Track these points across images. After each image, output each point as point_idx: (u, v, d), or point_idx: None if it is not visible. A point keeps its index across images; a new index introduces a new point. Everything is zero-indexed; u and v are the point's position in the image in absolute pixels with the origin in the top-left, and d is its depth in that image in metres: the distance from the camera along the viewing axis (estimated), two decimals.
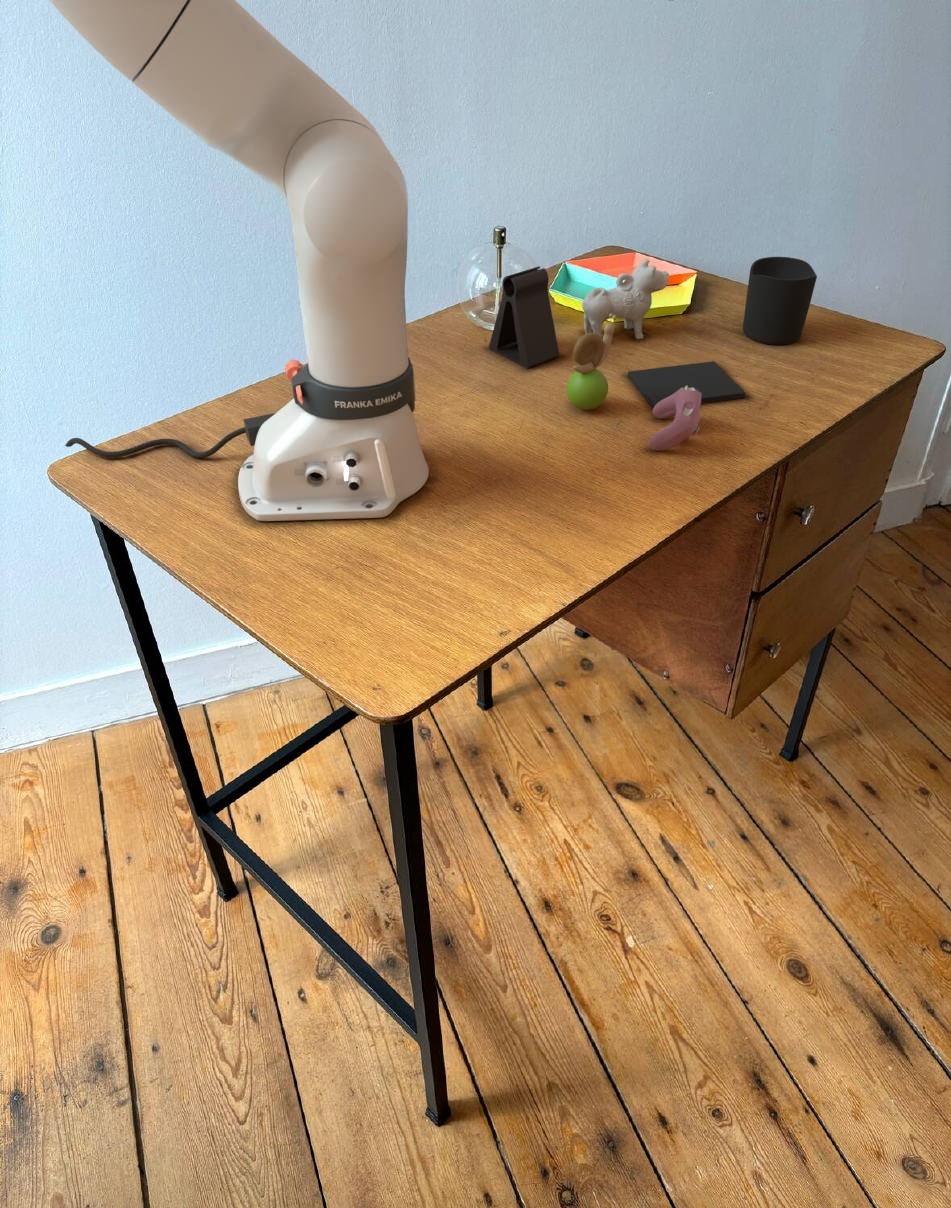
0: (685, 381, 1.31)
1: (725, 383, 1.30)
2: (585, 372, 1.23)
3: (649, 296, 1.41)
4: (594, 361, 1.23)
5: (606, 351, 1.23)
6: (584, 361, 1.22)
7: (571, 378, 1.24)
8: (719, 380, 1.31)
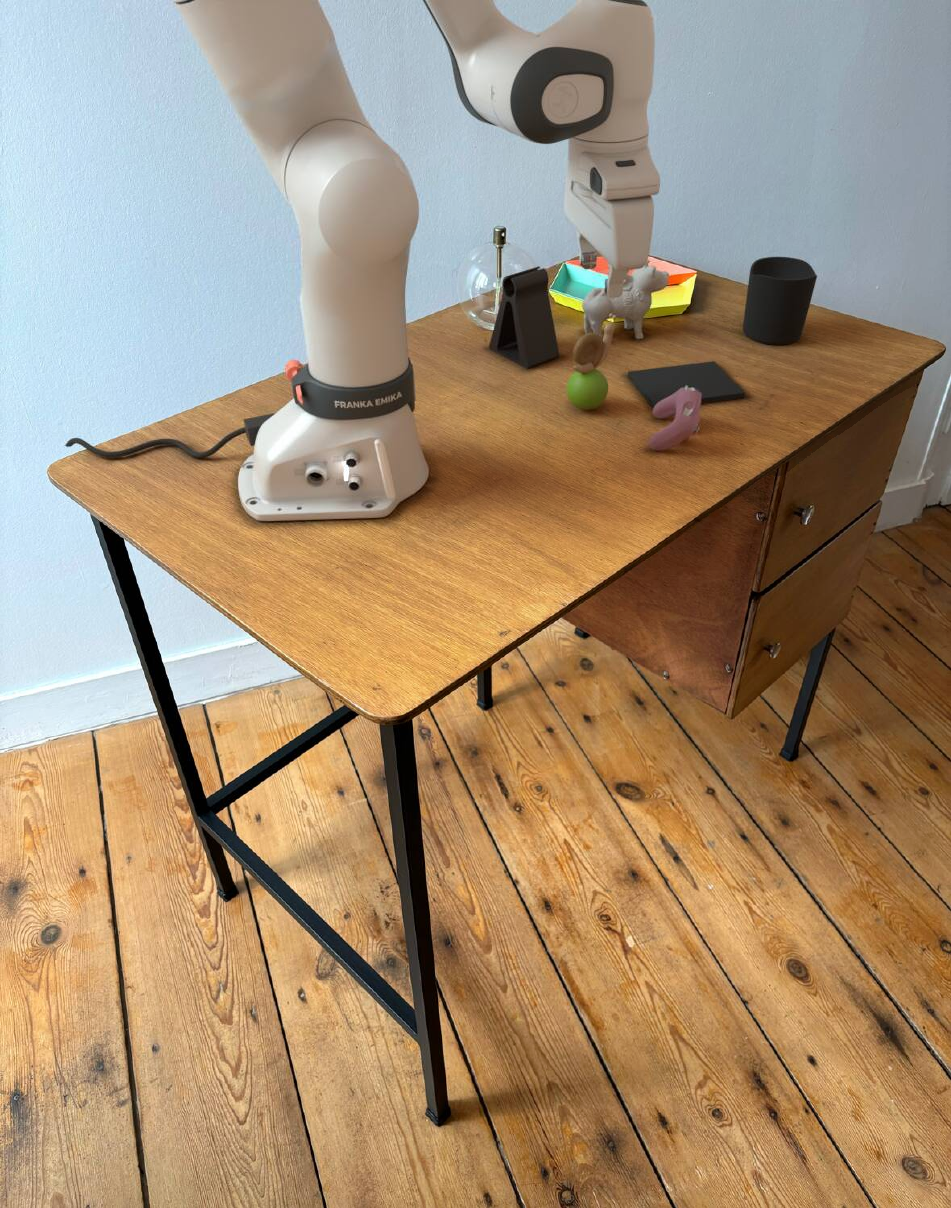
0: (685, 381, 1.31)
1: (725, 383, 1.30)
2: (585, 372, 1.23)
3: (649, 296, 1.41)
4: (594, 361, 1.23)
5: (606, 351, 1.23)
6: (584, 361, 1.22)
7: (571, 378, 1.24)
8: (719, 380, 1.31)
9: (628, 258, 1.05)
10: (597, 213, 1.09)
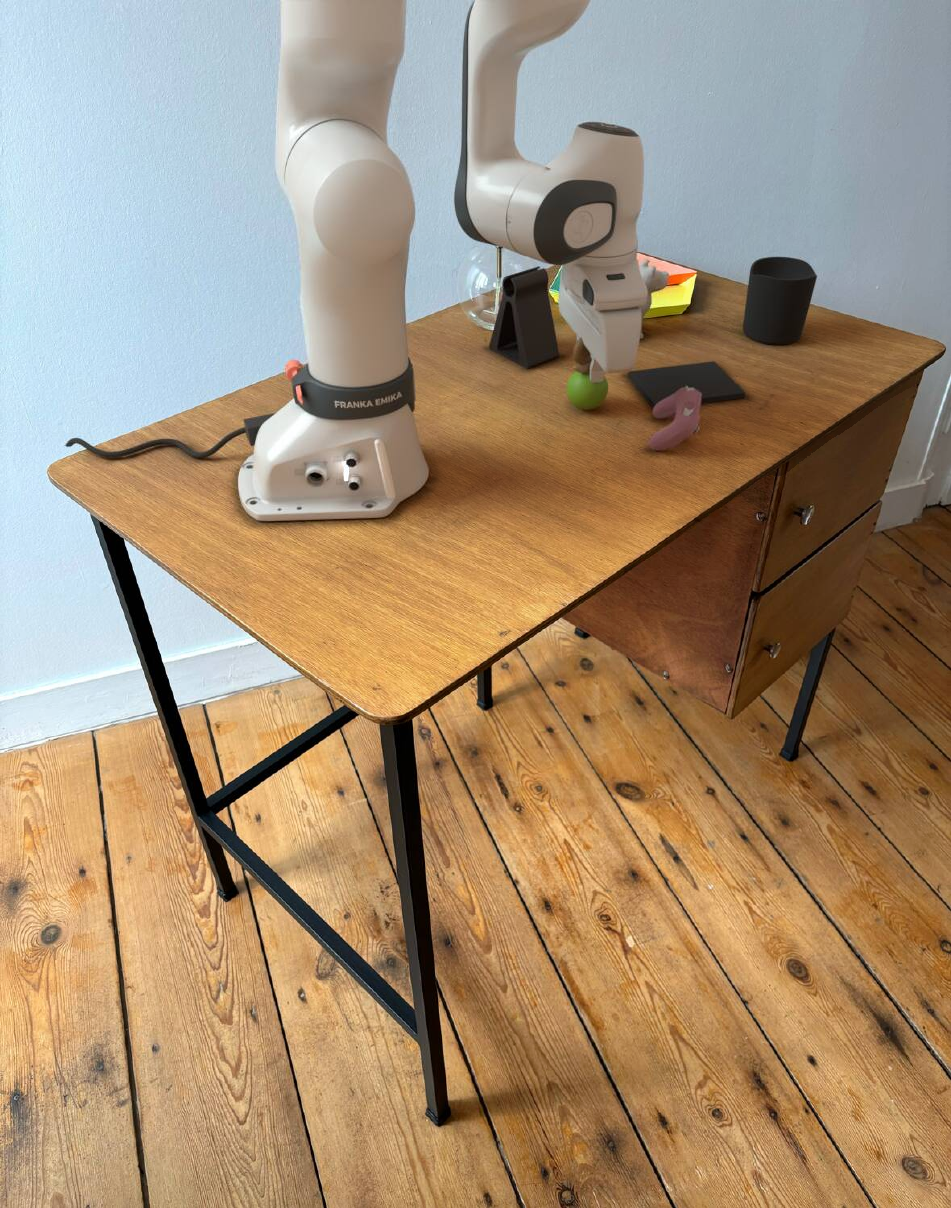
0: (685, 381, 1.31)
1: (725, 383, 1.30)
2: (585, 372, 1.23)
3: (649, 296, 1.41)
4: None
5: None
6: (584, 361, 1.22)
7: (571, 378, 1.24)
8: (719, 380, 1.31)
9: (617, 363, 1.13)
10: (589, 317, 1.17)
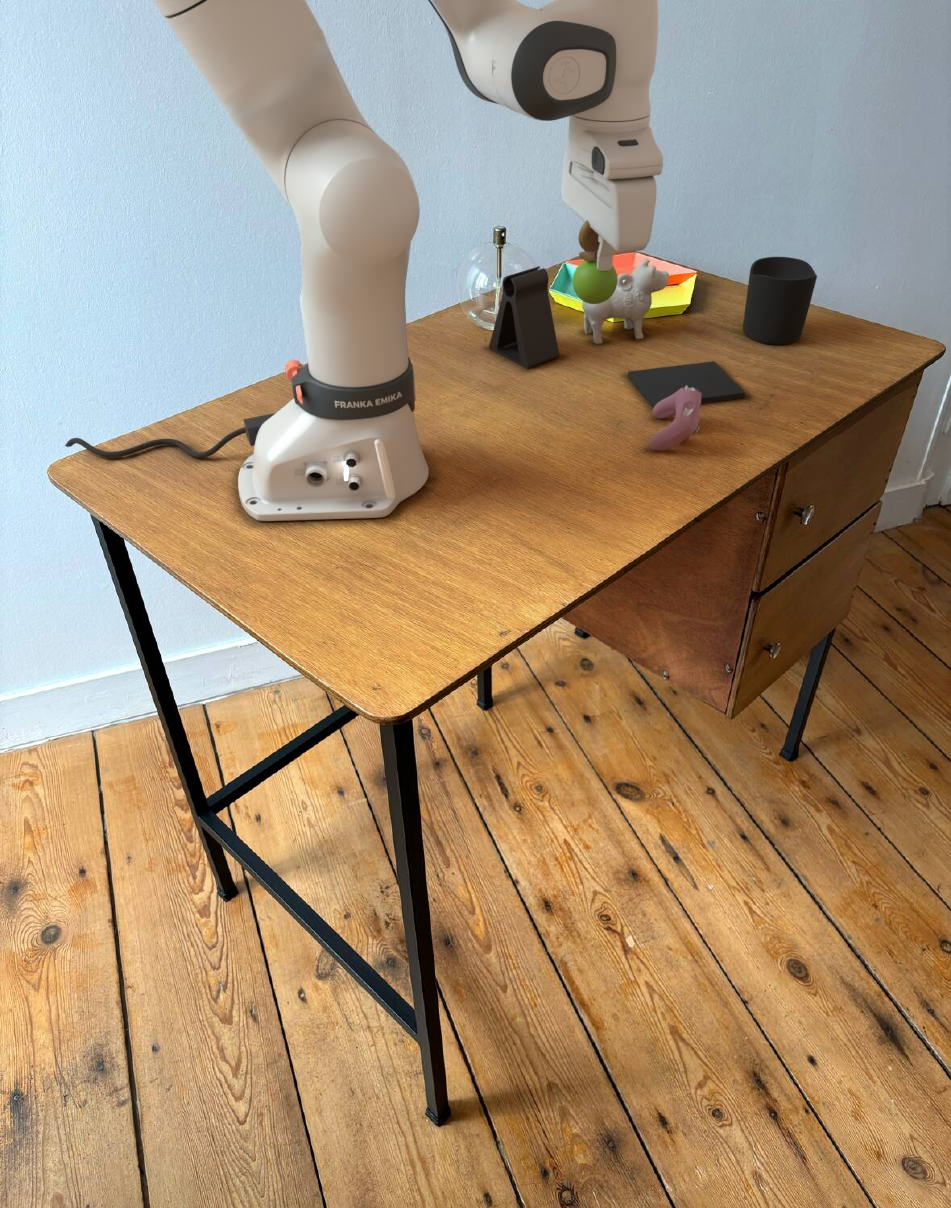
0: (685, 381, 1.31)
1: (725, 383, 1.30)
2: (592, 260, 1.14)
3: (649, 296, 1.41)
4: None
5: None
6: (590, 247, 1.13)
7: (577, 267, 1.16)
8: (719, 380, 1.31)
9: (630, 239, 1.04)
10: (597, 194, 1.08)
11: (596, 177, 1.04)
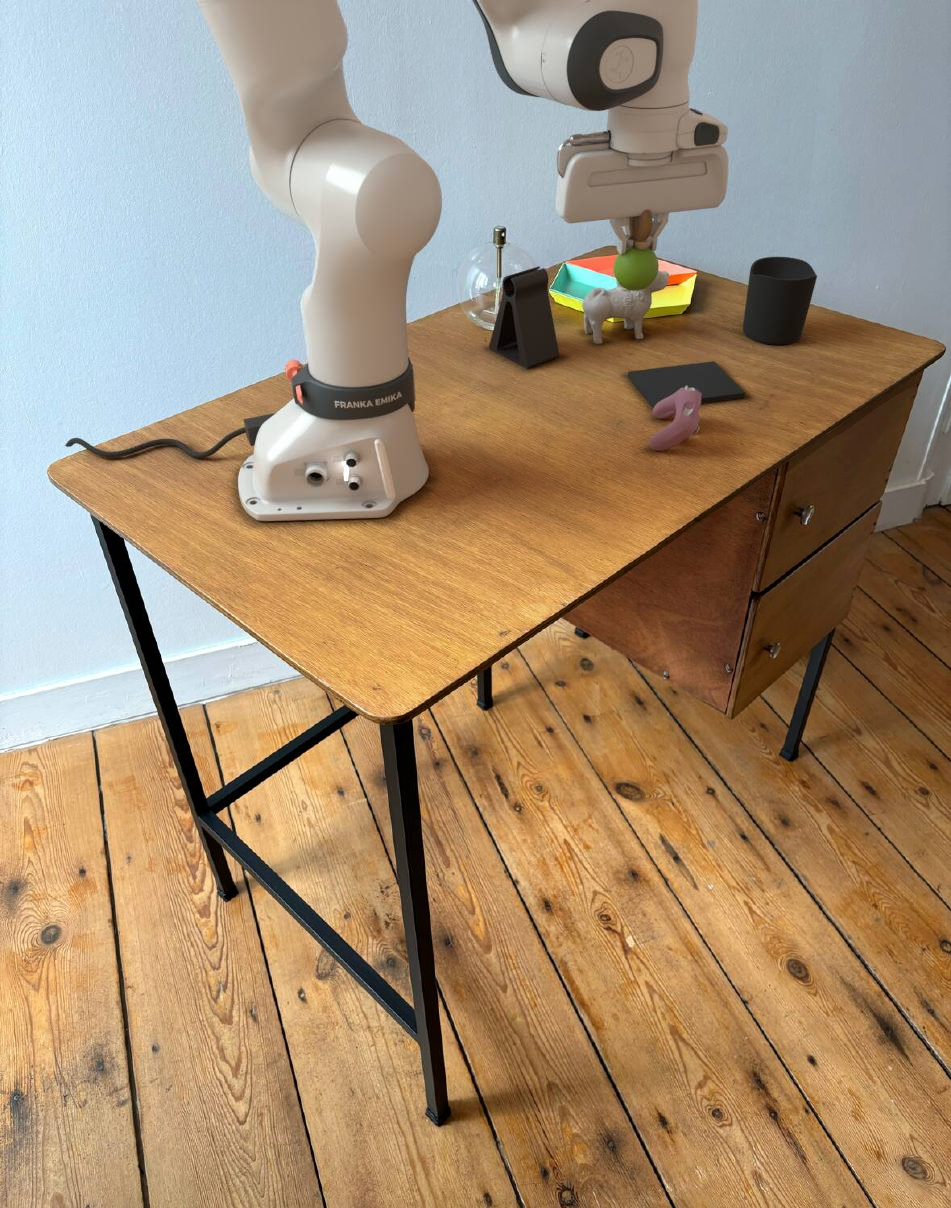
0: (685, 381, 1.31)
1: (725, 383, 1.30)
2: None
3: (649, 296, 1.41)
4: None
5: None
6: None
7: (637, 261, 1.15)
8: (719, 380, 1.31)
9: None
10: (664, 177, 1.10)
11: (691, 153, 1.08)
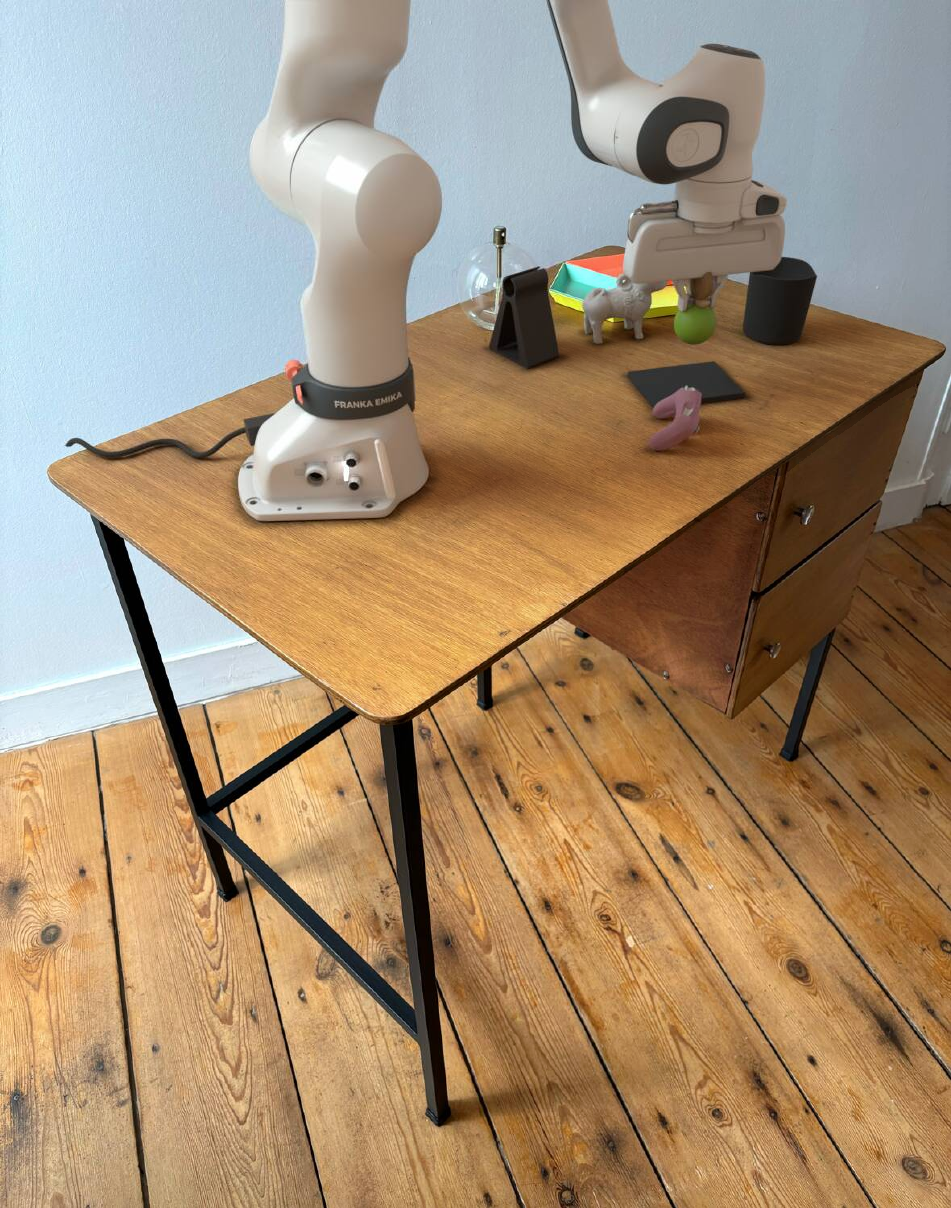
0: (685, 381, 1.31)
1: (725, 383, 1.30)
2: None
3: (649, 296, 1.41)
4: None
5: None
6: None
7: (697, 318, 1.23)
8: (719, 380, 1.31)
9: None
10: (725, 242, 1.18)
11: (752, 222, 1.16)
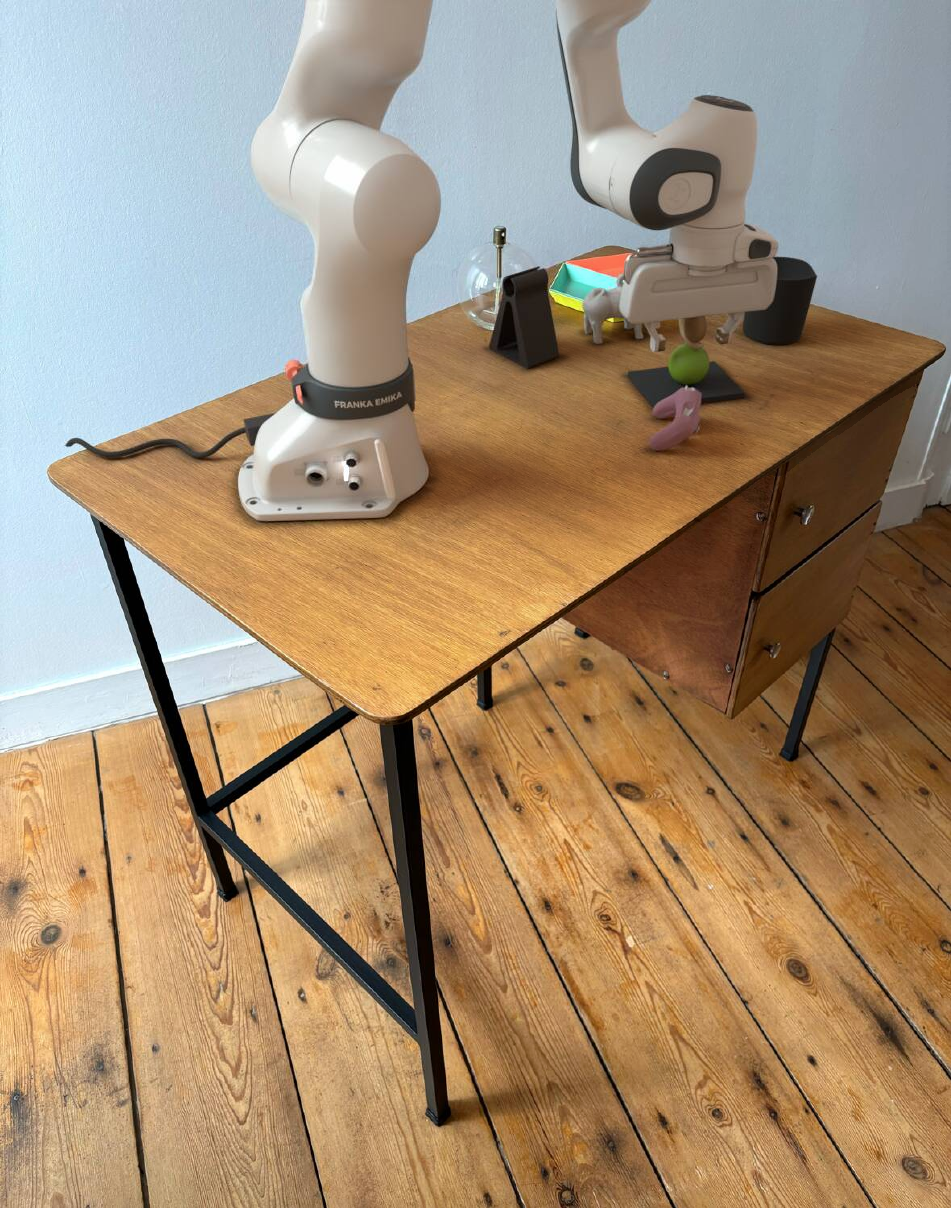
0: None
1: (725, 383, 1.30)
2: None
3: None
4: None
5: None
6: None
7: (691, 360, 1.26)
8: (719, 380, 1.31)
9: None
10: (719, 284, 1.21)
11: (745, 265, 1.19)
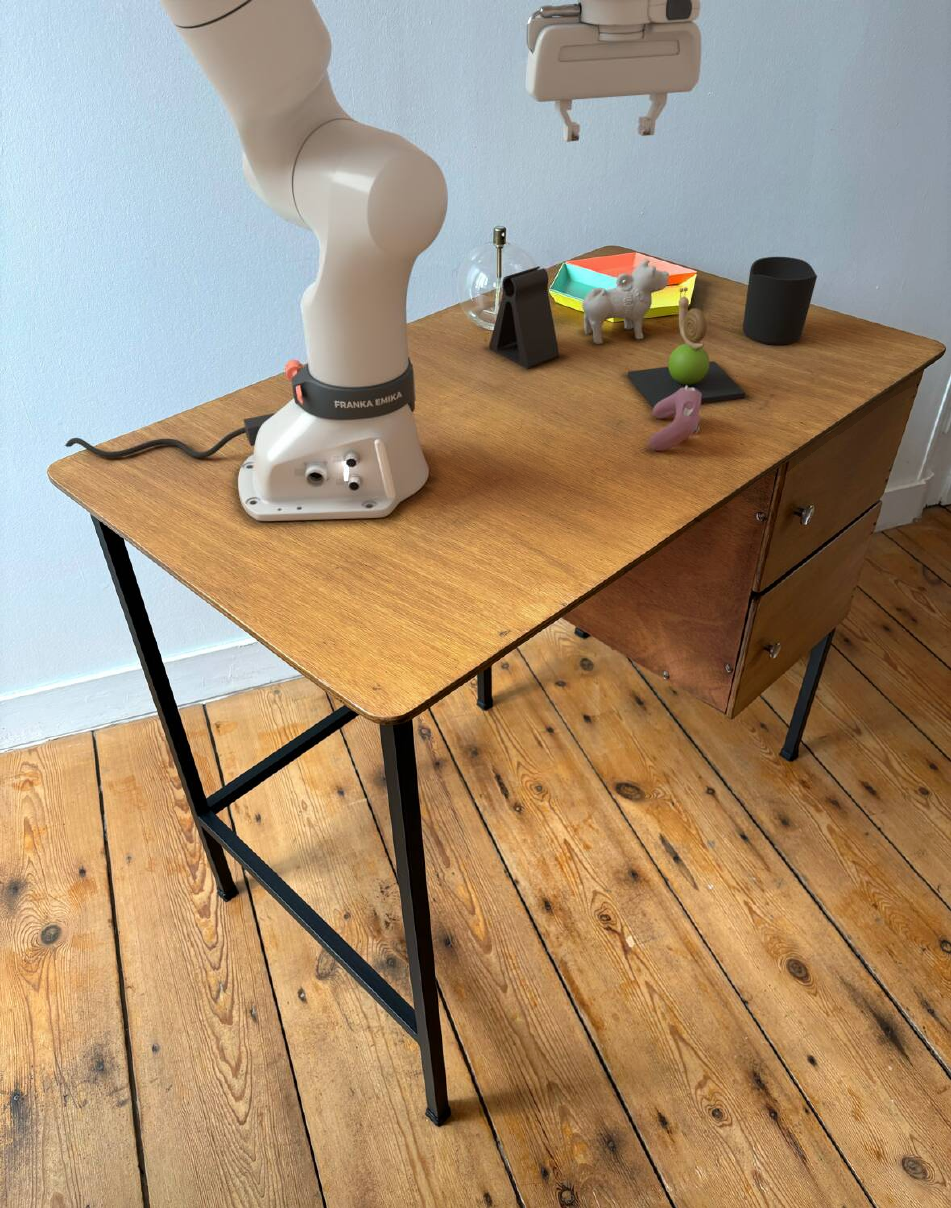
0: None
1: (725, 383, 1.30)
2: None
3: (649, 296, 1.41)
4: None
5: None
6: None
7: (691, 360, 1.26)
8: (719, 380, 1.31)
9: None
10: (635, 55, 1.08)
11: (663, 29, 1.06)
